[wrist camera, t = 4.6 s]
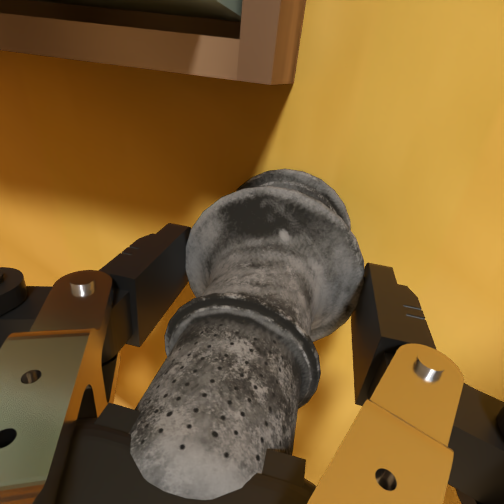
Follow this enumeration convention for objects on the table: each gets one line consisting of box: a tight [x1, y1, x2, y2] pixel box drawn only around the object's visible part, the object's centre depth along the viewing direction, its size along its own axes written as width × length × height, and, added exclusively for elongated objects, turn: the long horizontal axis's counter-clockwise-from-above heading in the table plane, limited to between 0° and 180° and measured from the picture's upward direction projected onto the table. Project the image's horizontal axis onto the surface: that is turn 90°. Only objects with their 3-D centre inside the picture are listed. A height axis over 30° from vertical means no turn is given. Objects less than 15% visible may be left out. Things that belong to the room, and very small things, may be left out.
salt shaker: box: [129, 169, 364, 500], centre depth 9 cm, size 6×6×12 cm
